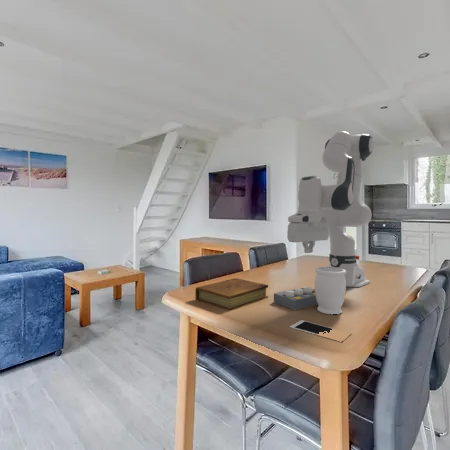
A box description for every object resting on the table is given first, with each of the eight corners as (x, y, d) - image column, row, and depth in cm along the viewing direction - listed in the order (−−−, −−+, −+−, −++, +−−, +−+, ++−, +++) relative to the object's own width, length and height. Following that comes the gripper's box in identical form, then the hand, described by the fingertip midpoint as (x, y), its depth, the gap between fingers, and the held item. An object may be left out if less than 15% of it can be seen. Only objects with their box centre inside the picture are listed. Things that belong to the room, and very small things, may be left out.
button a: (289, 297, 117) (289, 289, 117) (295, 299, 114) (296, 291, 114) (283, 298, 115) (283, 291, 115) (289, 301, 112) (289, 293, 112)
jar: (309, 306, 113) (310, 266, 112) (336, 306, 114) (337, 266, 113) (321, 316, 102) (322, 272, 101) (350, 316, 103) (352, 272, 102)
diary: (234, 290, 137) (234, 277, 137) (268, 299, 125) (268, 285, 124) (195, 300, 121) (195, 286, 121) (229, 311, 108) (230, 295, 108)
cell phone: (341, 344, 82) (342, 342, 82) (289, 328, 93) (289, 326, 93) (352, 335, 88) (352, 333, 88) (301, 321, 99) (301, 319, 99)
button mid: (298, 295, 120) (298, 288, 120) (305, 297, 117) (305, 289, 117) (292, 296, 118) (293, 289, 118) (299, 298, 115) (299, 291, 115)
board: (302, 296, 127) (302, 287, 126) (324, 302, 117) (324, 293, 117) (273, 302, 118) (273, 292, 118) (294, 310, 109) (295, 300, 108)
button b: (307, 293, 122) (307, 286, 122) (313, 295, 120) (313, 288, 120) (301, 295, 121) (302, 287, 121) (308, 296, 118) (308, 289, 118)
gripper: (320, 217, 127) (319, 250, 128) (284, 217, 116) (284, 253, 116) (333, 217, 122) (332, 251, 123) (297, 217, 111) (296, 255, 111)
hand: (308, 252), depth 119 cm, fingers closed
